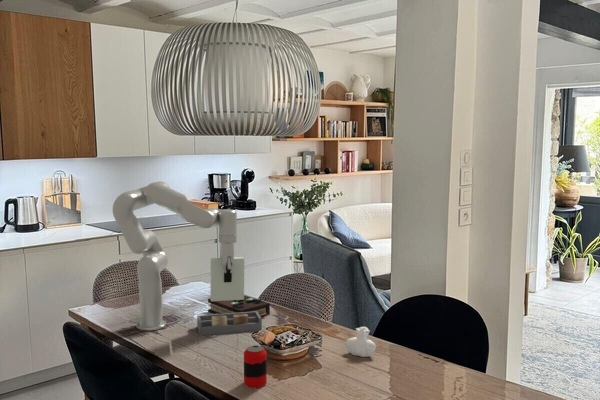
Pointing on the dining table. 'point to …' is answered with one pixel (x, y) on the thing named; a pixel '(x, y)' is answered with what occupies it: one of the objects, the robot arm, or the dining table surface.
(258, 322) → the rack
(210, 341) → the dining table surface
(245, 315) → the tan wooden block
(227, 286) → the sage board
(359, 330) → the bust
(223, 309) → the decorative book
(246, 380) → the soda can
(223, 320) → the birch offcut
